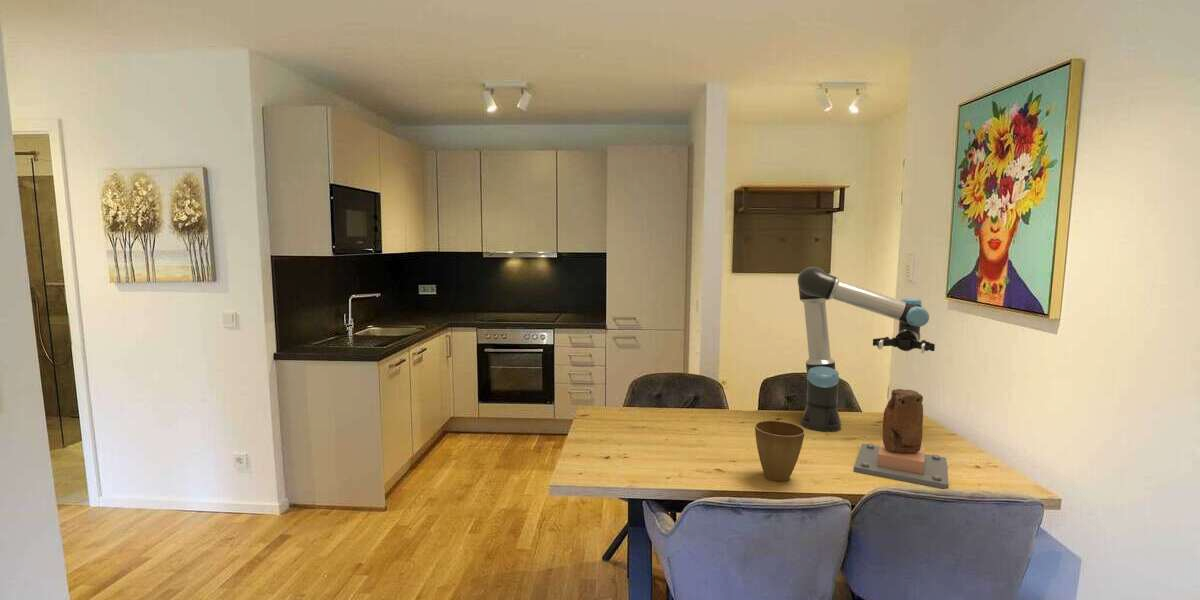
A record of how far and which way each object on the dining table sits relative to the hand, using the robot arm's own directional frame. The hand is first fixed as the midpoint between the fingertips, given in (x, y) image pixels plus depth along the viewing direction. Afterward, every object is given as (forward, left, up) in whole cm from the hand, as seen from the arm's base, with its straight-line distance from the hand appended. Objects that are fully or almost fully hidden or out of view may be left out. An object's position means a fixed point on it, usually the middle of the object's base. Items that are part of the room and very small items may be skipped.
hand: (900, 347), depth 200 cm
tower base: (+3, -20, -37) cm, 42 cm away
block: (+2, -20, -31) cm, 37 cm away
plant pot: (-30, -51, -37) cm, 70 cm away
